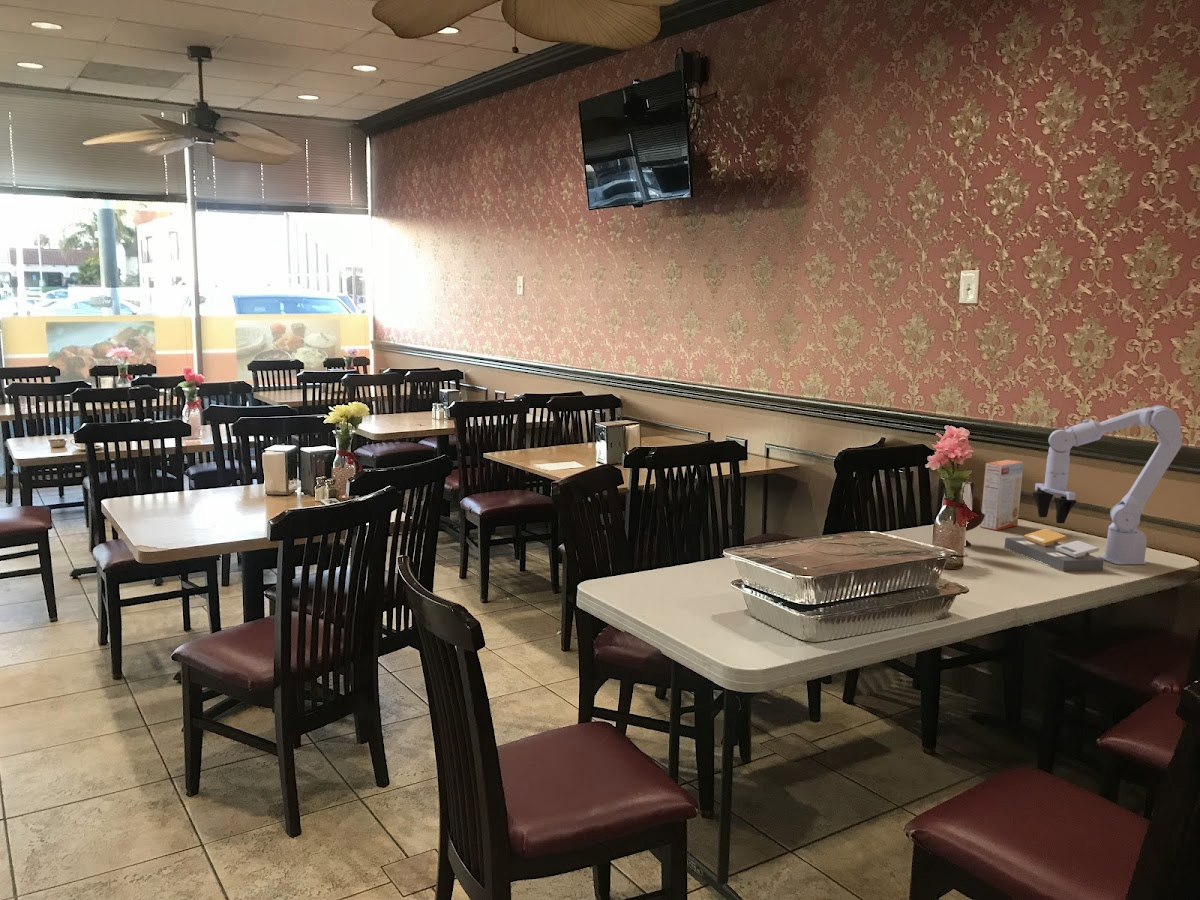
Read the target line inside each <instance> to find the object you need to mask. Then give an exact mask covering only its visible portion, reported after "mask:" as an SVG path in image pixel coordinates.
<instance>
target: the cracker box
mask: <svg viewBox="0 0 1200 900" xmlns="http://www.w3.org/2000/svg"><path fill="white" fill-rule="evenodd" d="M984 469H985V470H984V478H983V479H984V480H983V489H982V490H983V491H982V492H983V493H982V502H981V511H982V513H983V514H985V517H984V520H983V521H982V523H981V524H980V525H979V527H980V529H981V528H982V529H987V530H992V531H1000V530H1004V529H1007V528H1012V527H1016V526H1018V523H1019V514H1020V513H1019V512H1020V503H1021V492H1022V480H1023V473H1024V472H1023V470H1024V462H1023V461H1019V460H1013V459H1004V460H997V461H990V462H986V463H985V468H984Z"/></svg>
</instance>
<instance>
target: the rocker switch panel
mask: <svg viewBox="0 0 1200 900" xmlns="http://www.w3.org/2000/svg"><path fill="white" fill-rule="evenodd" d="M1004 541H1005V542H1004V547H1003V548H1004V549H1006V548H1007V549H1006V550H1009V549H1010V550H1009V551H1011V550H1012V552H1013V551H1015V552H1014V553H1016V552H1018V553H1020V554H1019V555H1021V554H1023V555H1025V556H1024V557H1026V556H1028V557H1030V558H1029V559H1031V558H1033V559H1035V560H1038V561H1041V562H1043V563H1045V564H1048V565H1050V566H1052V567H1051V568H1053V567H1055V568H1057V569H1059V570H1058V571H1060V570H1062V571H1078V572H1103V571H1104V564H1105V560H1104V559H1101V558H1098V557H1097V556H1094V555H1091V554H1089V556H1088V557H1087V556H1084V555H1083V556H1080V557H1076V558H1075V557H1073V556H1070V555H1068V554H1065V553H1062V552H1060V551H1057V550H1056V548H1055V546H1059V545H1063V543H1060V542H1058V544H1057V545H1054V544H1051V545H1048V546H1043V545H1040V544H1037V543H1035V542H1032V541H1029V540H1027V539H1024V537H1005V539H1004ZM1018 553H1017V554H1018ZM1023 555H1022V556H1023ZM1028 557H1027V558H1028ZM1033 559H1032V560H1033ZM1035 560H1034V561H1035ZM1038 561H1037V562H1038ZM1043 563H1042V564H1043ZM1045 564H1044V565H1045ZM1048 565H1047V566H1048ZM1050 566H1049V567H1050ZM1055 568H1054V569H1055ZM1057 569H1056V570H1057ZM1062 571H1061V572H1062Z"/></svg>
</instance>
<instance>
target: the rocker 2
mask: <svg viewBox="0 0 1200 900" xmlns="http://www.w3.org/2000/svg"><path fill="white" fill-rule="evenodd" d="M1055 548H1056V550H1057V551H1060V552H1062V553H1065V554H1068V555H1070V556H1073V557H1075V558H1076V557H1080V556H1083V555H1084V556H1087V557H1088V556H1089V555H1091V554H1094V553H1097V552H1099V551H1100V549H1099V547H1098V546H1095V545H1092V544H1089V543H1087V542H1083V541H1081V540H1075V541H1071V542H1070V541H1069V542H1067V543H1062V545H1059V546H1055Z"/></svg>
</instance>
